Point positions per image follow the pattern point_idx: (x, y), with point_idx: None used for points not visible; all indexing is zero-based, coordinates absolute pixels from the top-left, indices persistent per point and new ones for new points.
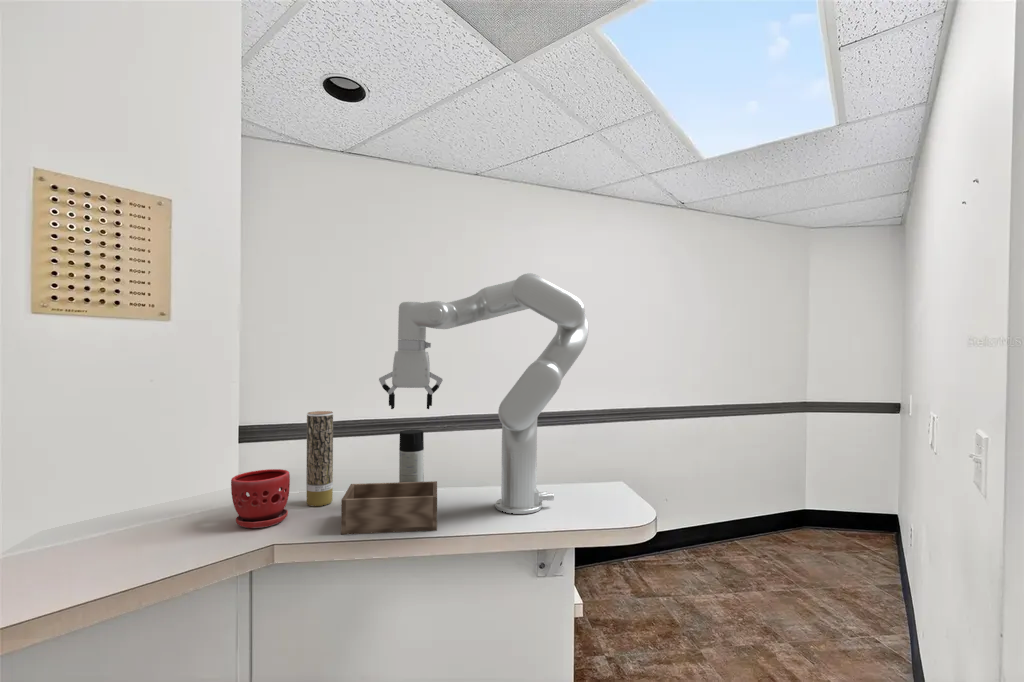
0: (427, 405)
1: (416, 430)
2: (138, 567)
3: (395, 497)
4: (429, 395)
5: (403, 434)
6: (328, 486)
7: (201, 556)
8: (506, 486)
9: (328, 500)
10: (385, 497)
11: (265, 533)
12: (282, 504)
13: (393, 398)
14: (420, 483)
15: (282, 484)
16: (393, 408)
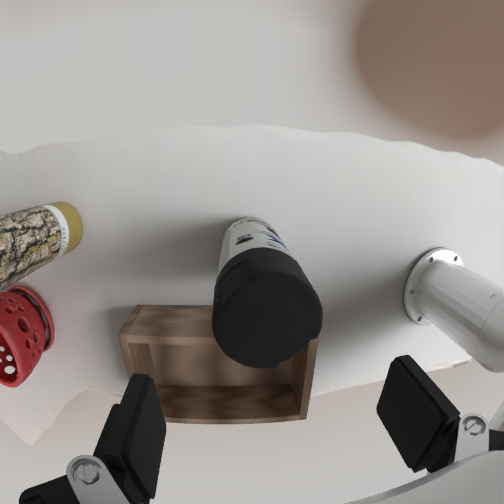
0: (386, 425)
1: (292, 308)
2: (20, 403)
3: (232, 420)
4: (422, 465)
5: (233, 358)
6: (62, 249)
7: (44, 399)
8: (436, 323)
9: (77, 241)
10: (214, 419)
11: (57, 357)
12: (43, 345)
13: (154, 481)
14: None
15: (29, 368)
16: (164, 426)
